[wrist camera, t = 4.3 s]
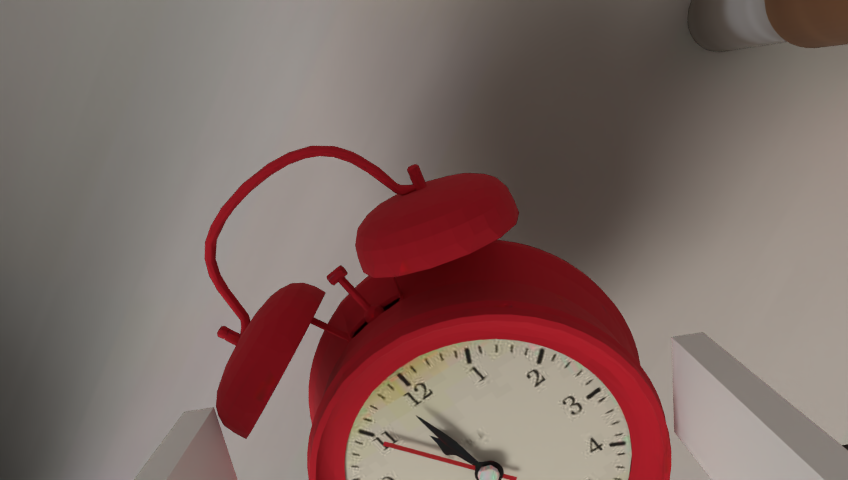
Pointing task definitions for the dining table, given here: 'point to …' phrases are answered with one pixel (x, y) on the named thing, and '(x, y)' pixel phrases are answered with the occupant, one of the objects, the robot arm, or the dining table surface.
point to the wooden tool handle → (768, 23)
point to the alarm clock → (449, 349)
